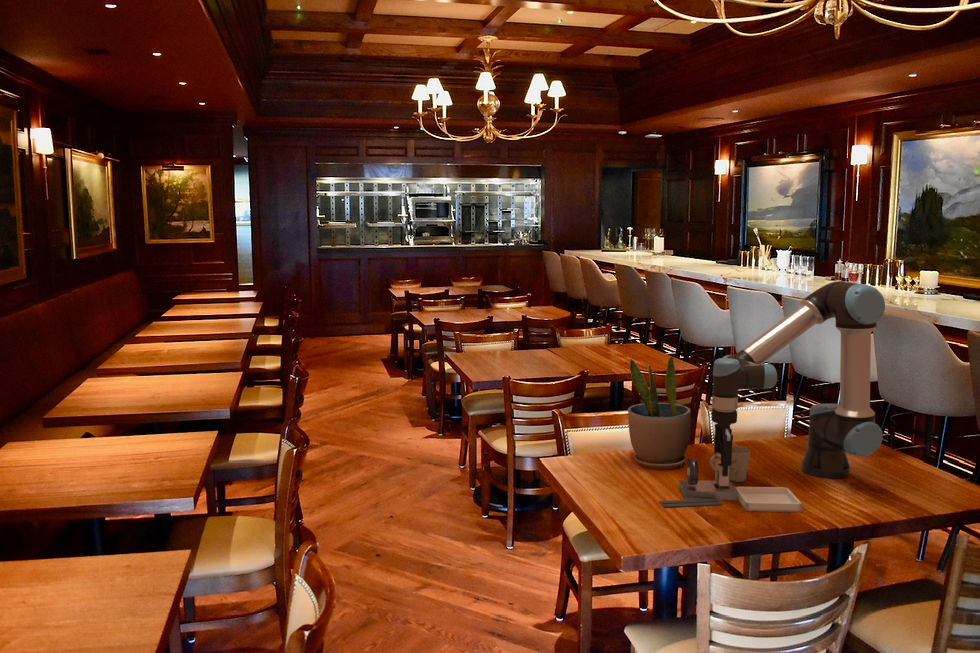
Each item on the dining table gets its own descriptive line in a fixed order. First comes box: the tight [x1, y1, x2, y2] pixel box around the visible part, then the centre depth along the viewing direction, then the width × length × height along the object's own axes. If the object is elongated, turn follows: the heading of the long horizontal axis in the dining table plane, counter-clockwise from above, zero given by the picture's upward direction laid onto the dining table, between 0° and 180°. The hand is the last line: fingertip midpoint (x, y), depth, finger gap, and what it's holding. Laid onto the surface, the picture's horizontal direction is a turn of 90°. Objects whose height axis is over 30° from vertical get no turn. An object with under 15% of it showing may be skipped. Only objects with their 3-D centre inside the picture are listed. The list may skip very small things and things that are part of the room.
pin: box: [715, 452, 727, 489], centre depth 245 cm, size 4×4×13 cm
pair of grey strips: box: [658, 499, 723, 509], centre depth 238 cm, size 18×5×1 cm, turn 97°
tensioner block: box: [678, 458, 739, 501], centre depth 245 cm, size 16×10×11 cm, turn 87°
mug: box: [709, 445, 751, 483], centre depth 260 cm, size 8×13×10 cm, turn 78°
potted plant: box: [627, 355, 692, 470], centre depth 274 cm, size 21×22×40 cm
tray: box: [735, 486, 803, 513], centre depth 238 cm, size 16×14×2 cm
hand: (721, 482), depth 246 cm, fingers open, 5 cm apart
